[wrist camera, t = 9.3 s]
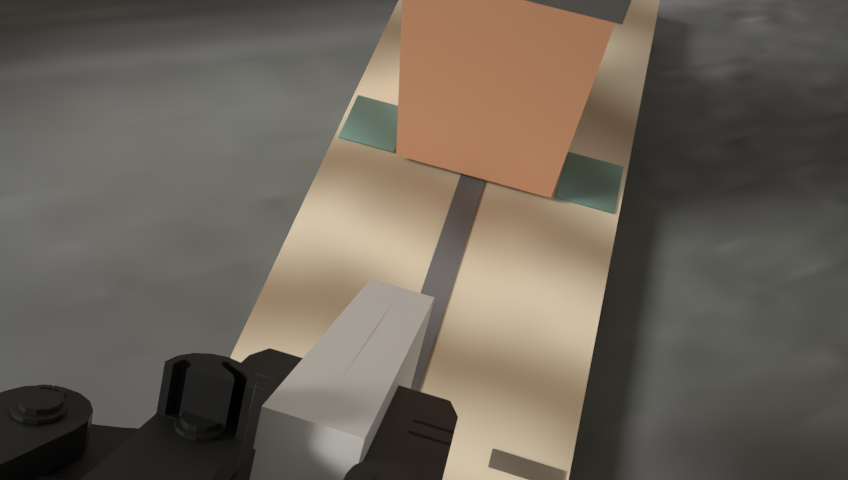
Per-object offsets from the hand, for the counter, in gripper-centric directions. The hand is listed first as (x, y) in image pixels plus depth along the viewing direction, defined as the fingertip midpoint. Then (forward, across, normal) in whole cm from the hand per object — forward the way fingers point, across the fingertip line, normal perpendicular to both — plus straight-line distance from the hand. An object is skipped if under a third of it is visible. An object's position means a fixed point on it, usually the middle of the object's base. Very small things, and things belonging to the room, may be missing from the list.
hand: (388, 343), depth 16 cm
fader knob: (+15, 0, +4) cm, 16 cm away
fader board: (+14, 0, -1) cm, 14 cm away
